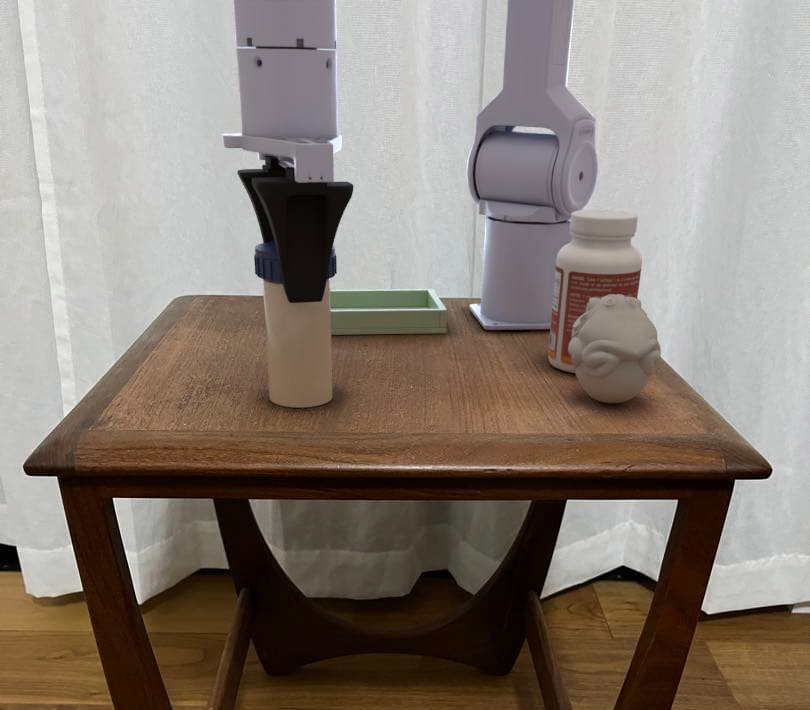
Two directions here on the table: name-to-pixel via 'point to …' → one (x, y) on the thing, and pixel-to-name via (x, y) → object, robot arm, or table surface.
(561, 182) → the robot arm
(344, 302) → the tray
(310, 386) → the jar
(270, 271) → the lid
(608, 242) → the pill bottle
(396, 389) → the table surface
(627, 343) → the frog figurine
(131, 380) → the table surface
